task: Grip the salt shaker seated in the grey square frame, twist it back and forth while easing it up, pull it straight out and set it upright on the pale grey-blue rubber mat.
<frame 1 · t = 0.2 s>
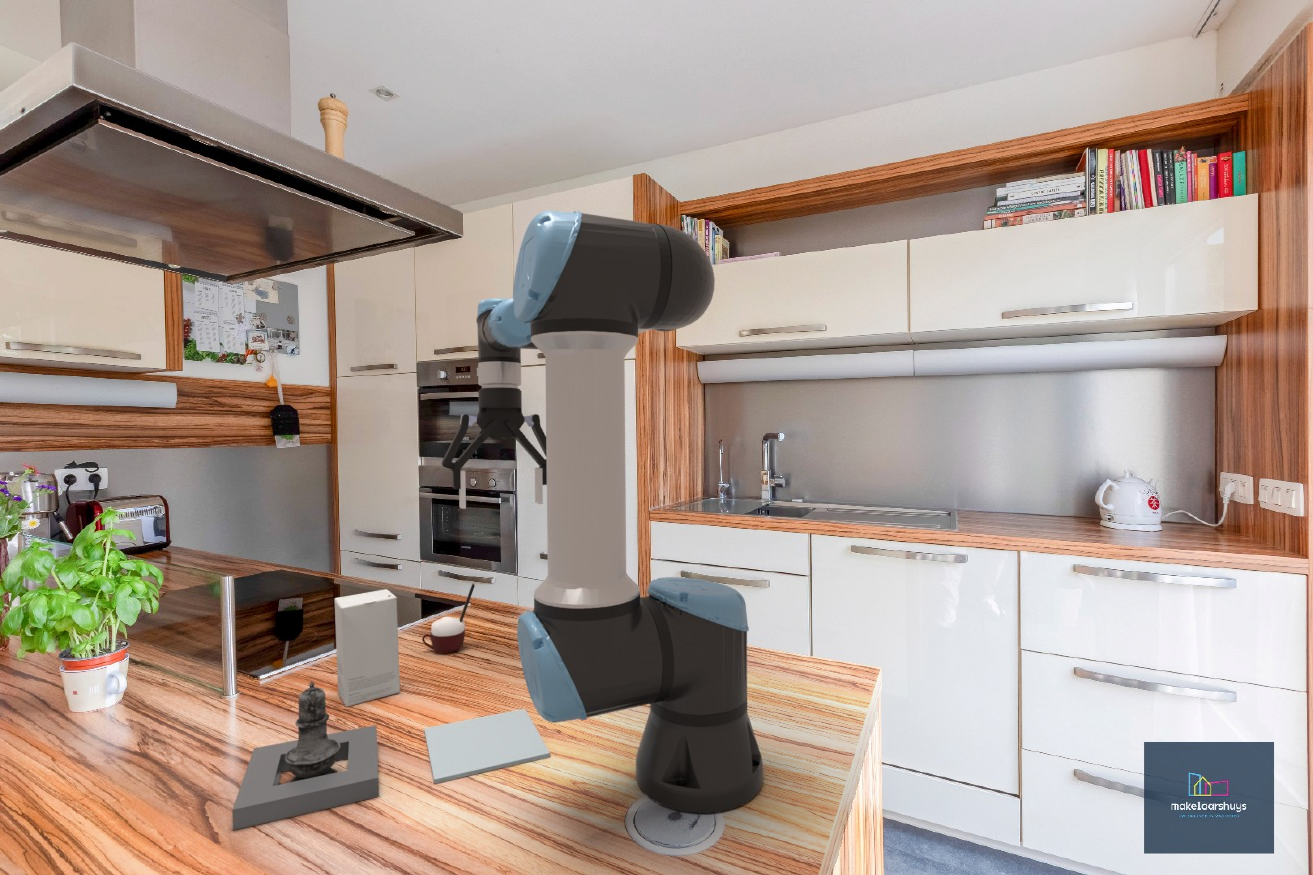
hand: (501, 505, 114), 28 cm above the worktop, tool pointing down, fingers open, 13 cm apart
salt shaker: (313, 782, 76), resting in grey square frame
cocoa: (449, 651, 119), on the worktop
grey square frame: (313, 780, 76), on the worktop
skincare box: (368, 695, 100), on the worktop
mat: (484, 743, 84), on the worktop
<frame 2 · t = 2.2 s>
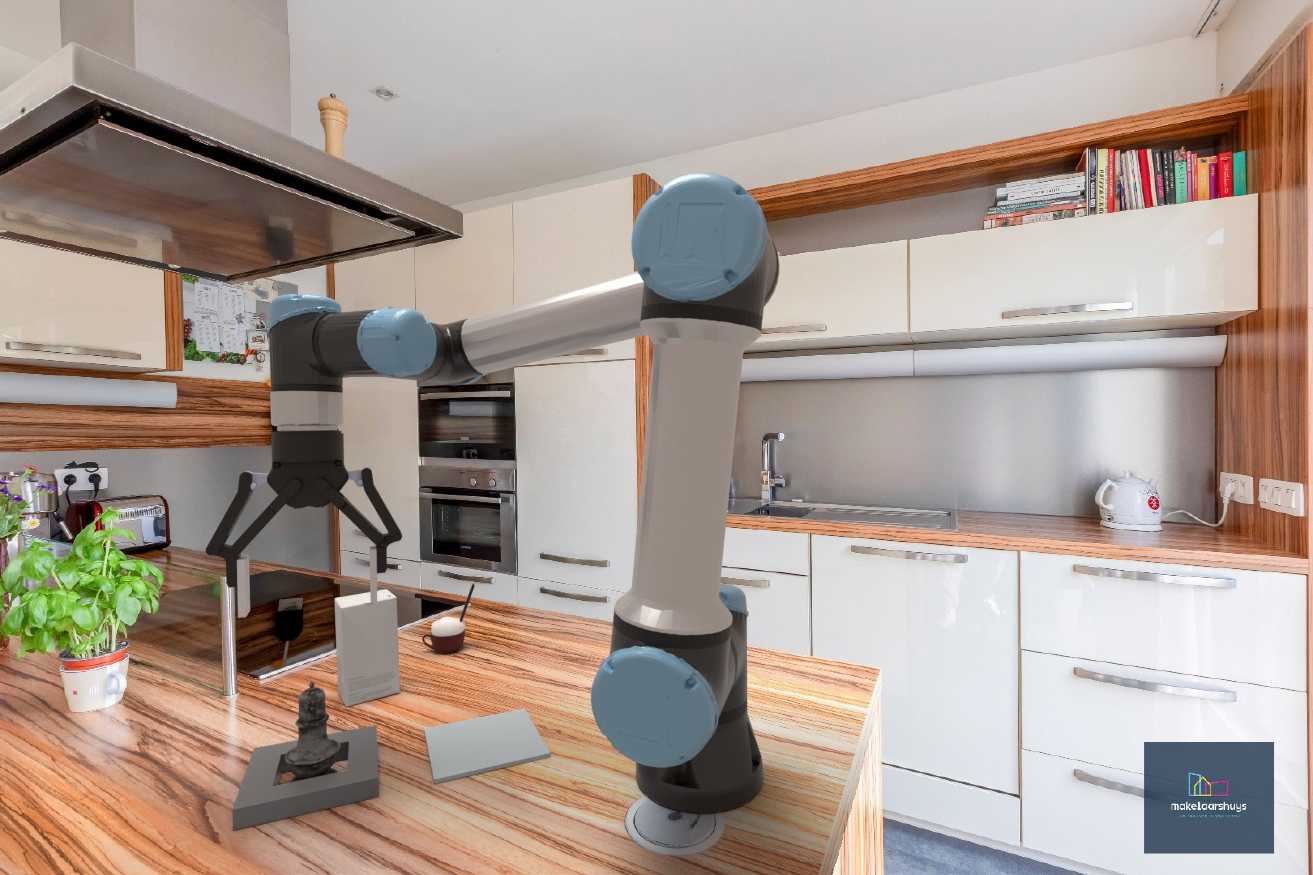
hand: (311, 607, 75), 21 cm above the worktop, tool pointing down, fingers open, 13 cm apart
nothing on the worktop moved.
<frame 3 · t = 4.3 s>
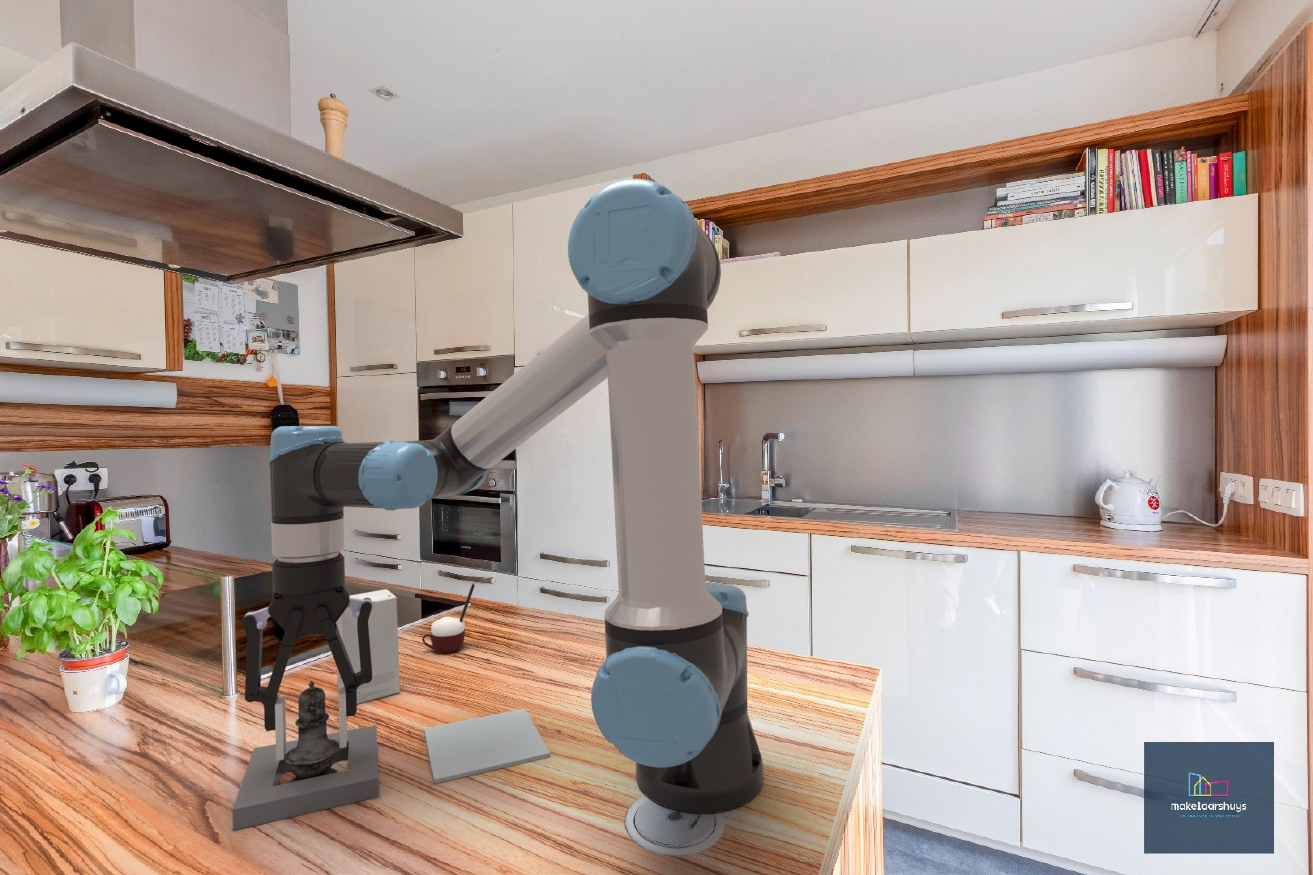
hand: (313, 748, 75), 4 cm above the worktop, tool pointing down, fingers closed on salt shaker, 6 cm apart
salt shaker: (313, 782, 76), resting in grey square frame, touching gripper
everything else where it was.
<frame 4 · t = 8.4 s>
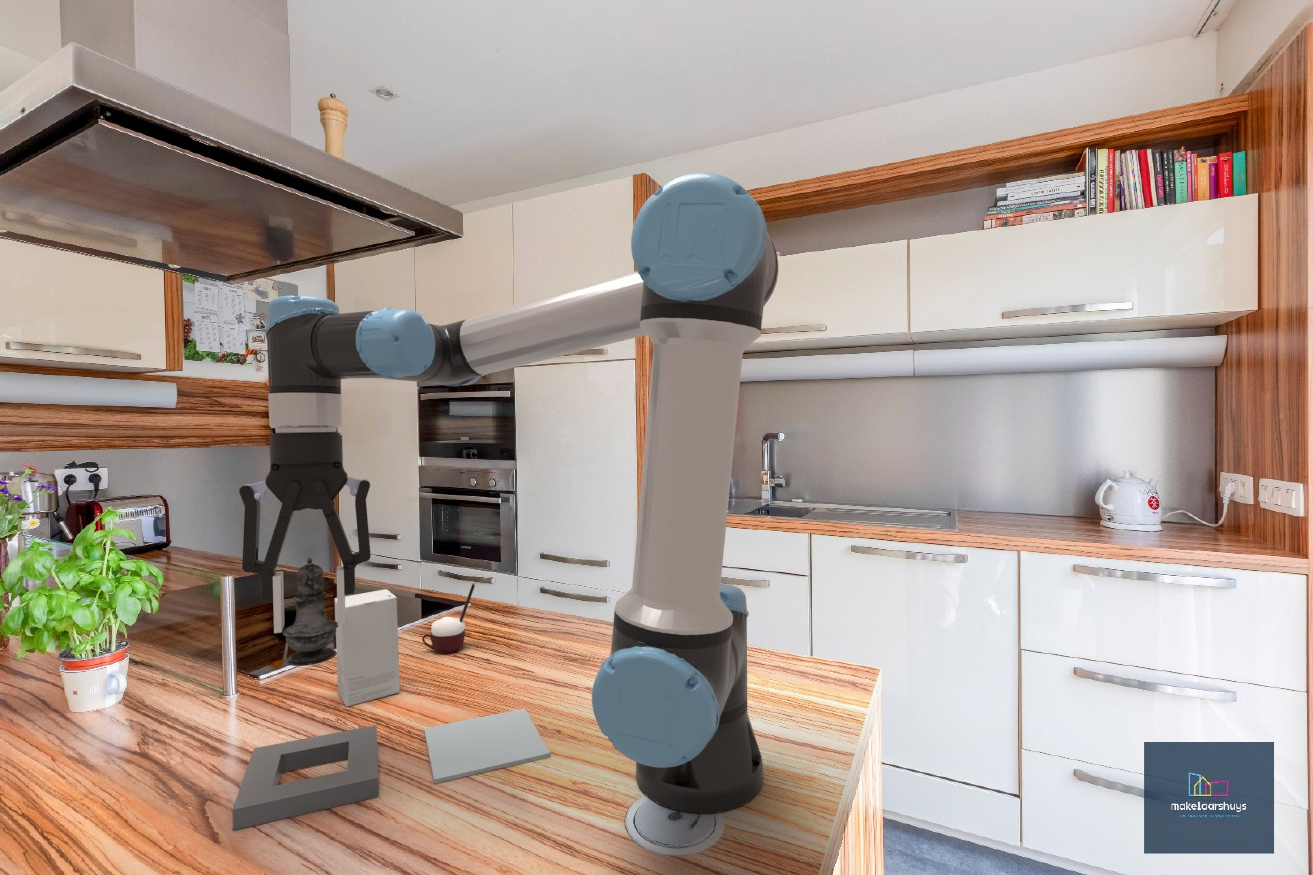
hand: (311, 624, 75), 19 cm above the worktop, tool pointing down, fingers closed on salt shaker, 6 cm apart
salt shaker: (312, 659, 75), point 15 cm above the worktop, touching gripper
everything else where it was.
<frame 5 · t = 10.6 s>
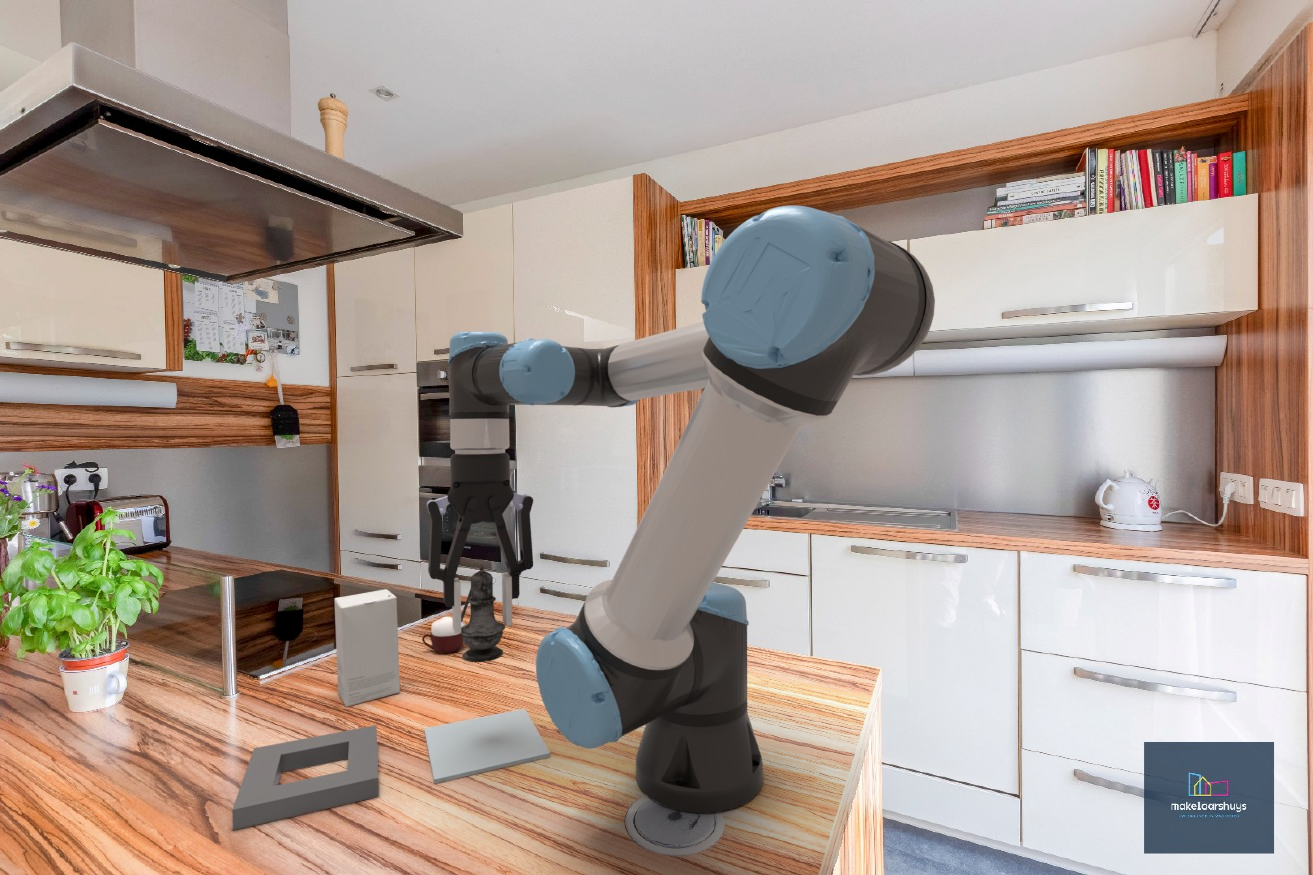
hand: (482, 626, 84), 16 cm above the worktop, tool pointing down, fingers closed on salt shaker, 6 cm apart
salt shaker: (482, 656, 84), point 12 cm above the worktop, touching gripper
everything else where it was.
when the fingers open (6 cm above the worktop, at t = 12.6 s): salt shaker drops 1 cm, resting on mat.
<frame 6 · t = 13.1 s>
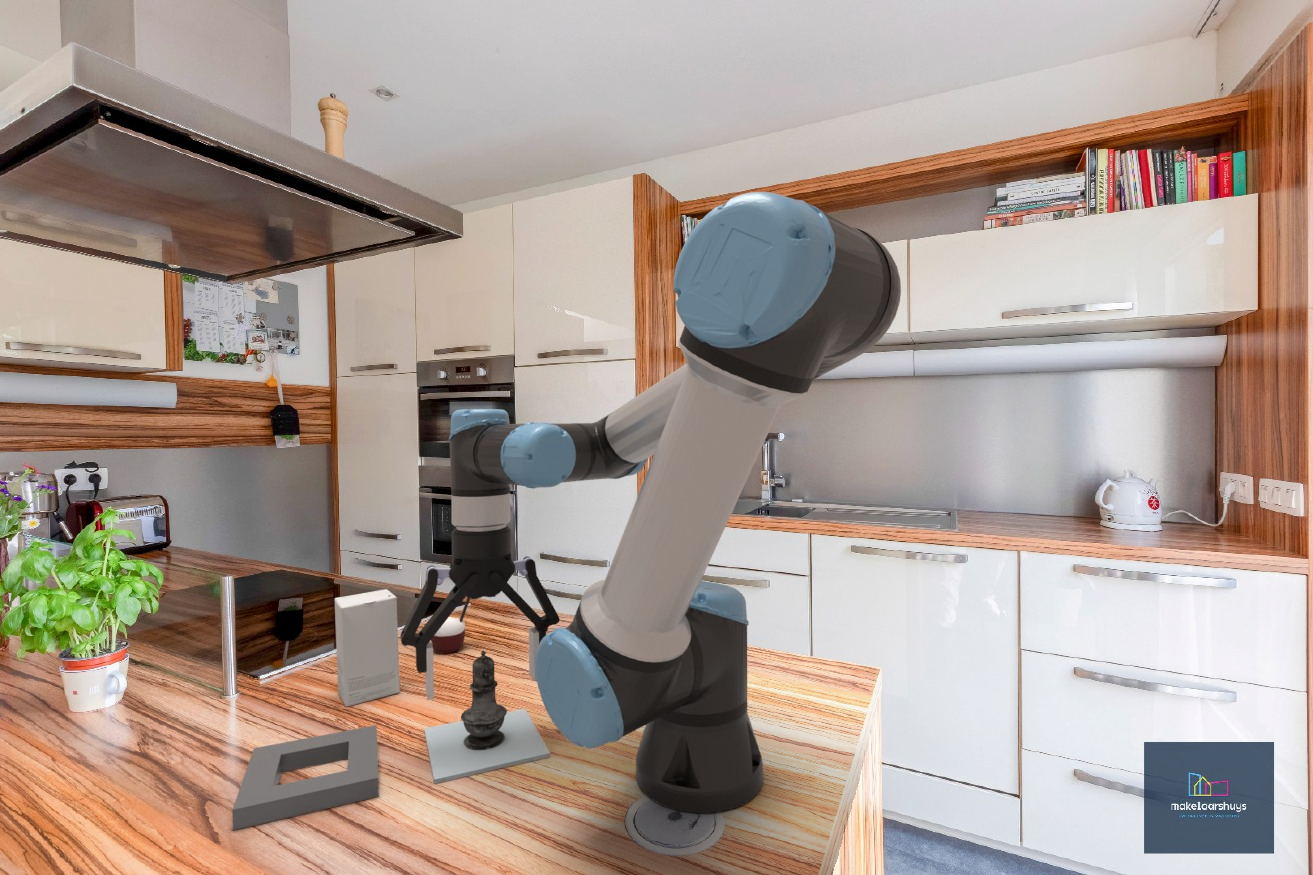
hand: (483, 686, 84), 8 cm above the worktop, tool pointing down, fingers open, 13 cm apart
salt shaker: (484, 741, 84), resting on mat
everything else where it was.
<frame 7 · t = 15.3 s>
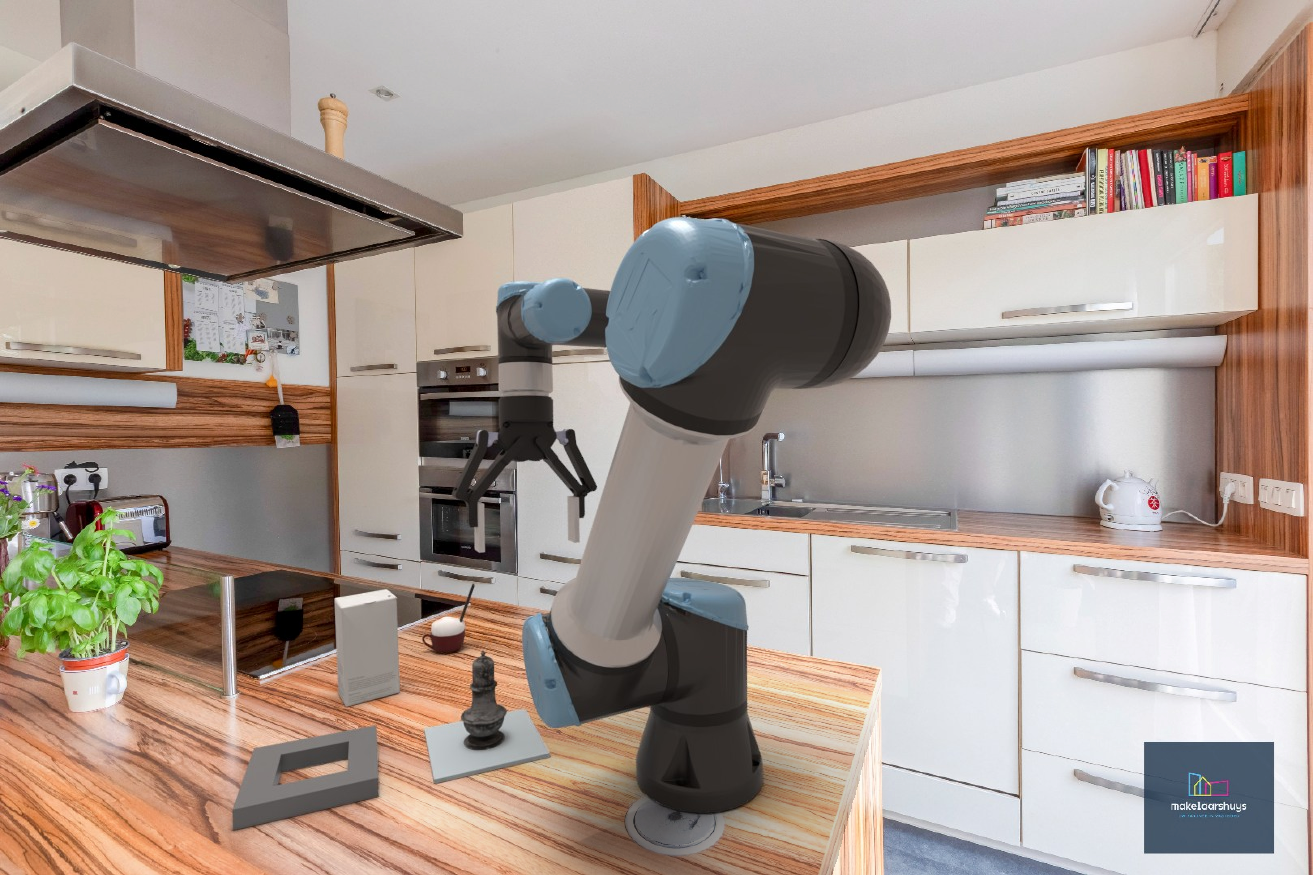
hand: (528, 546, 89), 25 cm above the worktop, tool pointing down, fingers open, 13 cm apart
nothing on the worktop moved.
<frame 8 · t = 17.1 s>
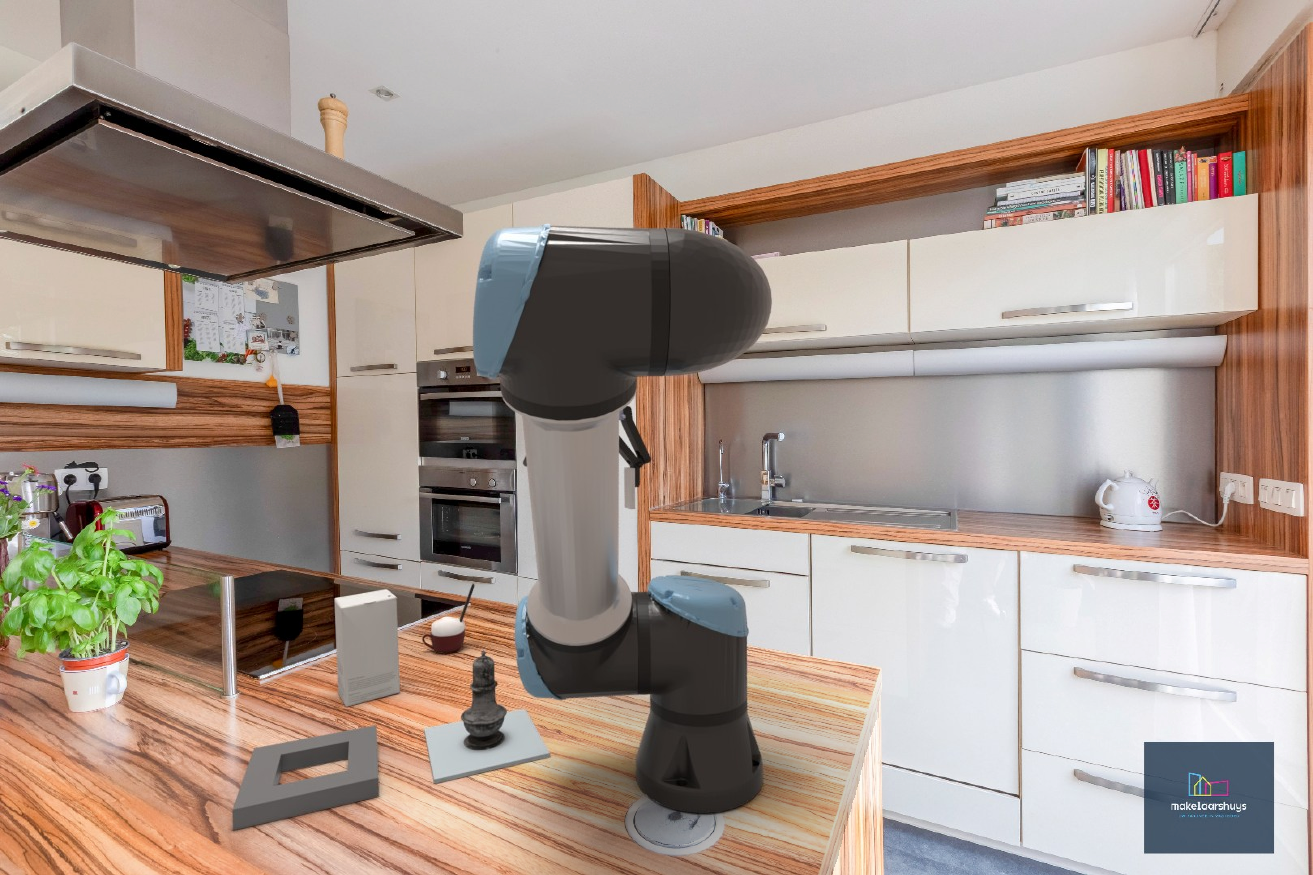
hand: (589, 511, 99), 29 cm above the worktop, tool pointing down, fingers open, 13 cm apart
nothing on the worktop moved.
at the end: salt shaker inside the target area on the mat (0.0 cm from its centre), point 0.3 cm above the mat's base; salt shaker tilted 0°; the gripper is holding nothing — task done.
